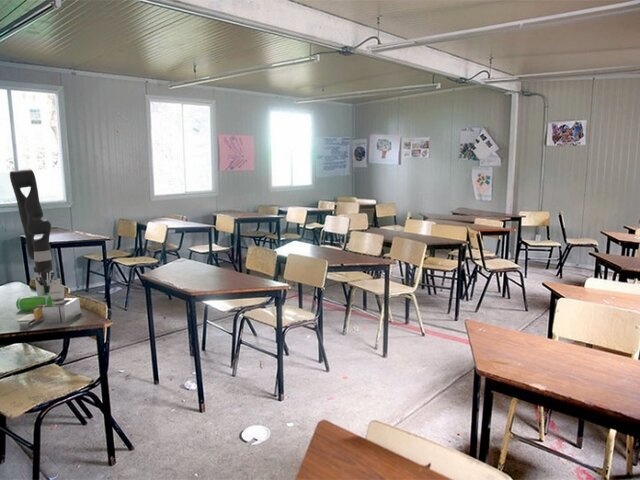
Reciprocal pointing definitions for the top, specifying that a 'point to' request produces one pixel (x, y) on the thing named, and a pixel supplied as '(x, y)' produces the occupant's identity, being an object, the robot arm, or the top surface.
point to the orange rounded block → (38, 312)
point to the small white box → (56, 313)
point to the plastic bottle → (57, 292)
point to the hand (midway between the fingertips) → (47, 292)
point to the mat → (26, 318)
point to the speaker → (33, 302)
